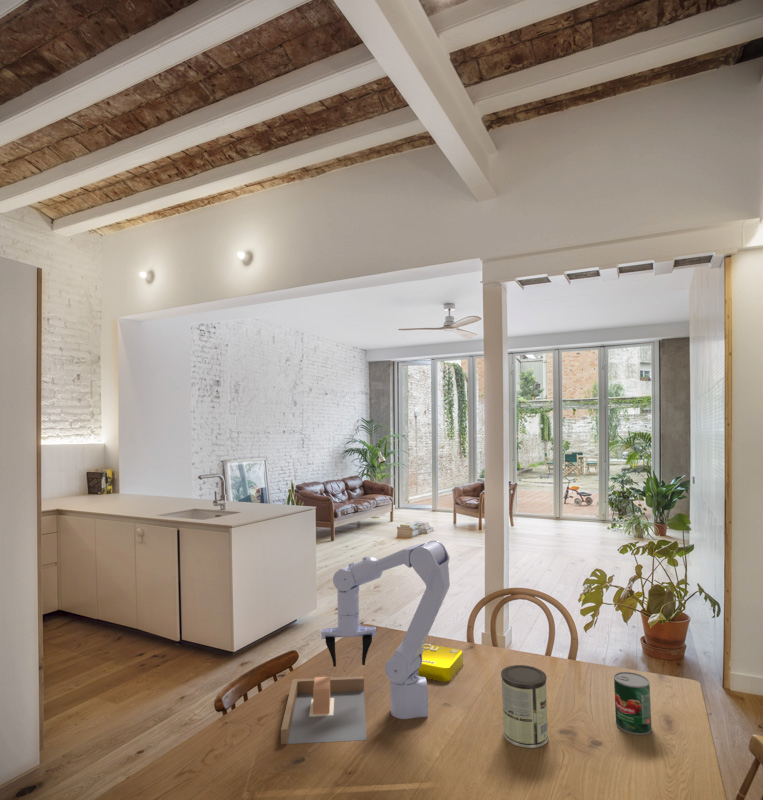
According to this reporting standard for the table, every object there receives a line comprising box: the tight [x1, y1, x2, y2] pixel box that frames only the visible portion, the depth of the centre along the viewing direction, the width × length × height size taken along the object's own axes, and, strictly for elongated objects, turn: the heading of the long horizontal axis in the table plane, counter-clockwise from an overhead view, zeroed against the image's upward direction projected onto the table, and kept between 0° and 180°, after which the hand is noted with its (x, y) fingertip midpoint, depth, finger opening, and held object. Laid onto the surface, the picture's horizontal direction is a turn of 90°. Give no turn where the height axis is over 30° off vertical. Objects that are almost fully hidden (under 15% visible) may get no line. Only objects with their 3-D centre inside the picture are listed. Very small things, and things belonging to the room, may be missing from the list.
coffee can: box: [500, 664, 549, 749], centre depth 128 cm, size 10×10×14 cm
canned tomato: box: [613, 671, 653, 736], centre depth 132 cm, size 8×8×11 cm
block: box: [313, 676, 331, 714], centre depth 141 cm, size 7×4×6 cm, turn 3°
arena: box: [280, 675, 368, 745], centre depth 138 cm, size 20×26×4 cm
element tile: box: [418, 642, 464, 683], centre depth 166 cm, size 15×15×5 cm
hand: (349, 664), depth 147 cm, fingers open, 7 cm apart
